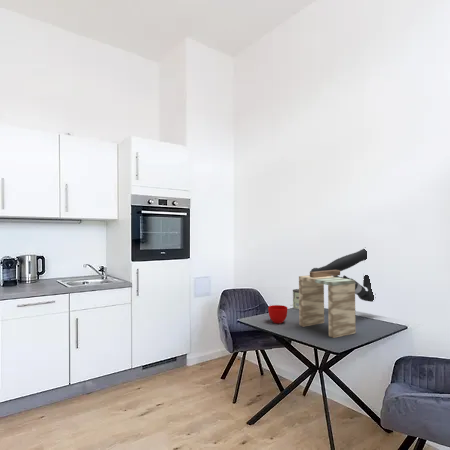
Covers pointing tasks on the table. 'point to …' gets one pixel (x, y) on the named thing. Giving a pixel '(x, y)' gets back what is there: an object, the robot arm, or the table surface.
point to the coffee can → (296, 298)
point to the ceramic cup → (277, 313)
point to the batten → (324, 273)
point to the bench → (337, 303)
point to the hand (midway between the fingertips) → (338, 275)
